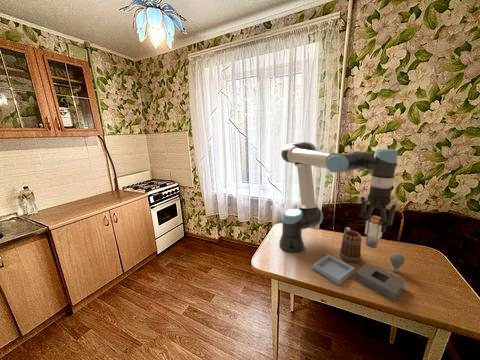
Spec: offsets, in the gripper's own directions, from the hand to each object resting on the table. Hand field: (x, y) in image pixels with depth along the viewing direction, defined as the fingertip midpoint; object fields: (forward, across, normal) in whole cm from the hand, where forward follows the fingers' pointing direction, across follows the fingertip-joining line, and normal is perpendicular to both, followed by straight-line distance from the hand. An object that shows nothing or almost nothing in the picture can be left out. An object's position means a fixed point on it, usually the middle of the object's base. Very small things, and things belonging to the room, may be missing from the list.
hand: (372, 235), depth 89 cm
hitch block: (+24, +5, +2) cm, 24 cm away
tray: (+24, -13, -7) cm, 28 cm away
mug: (+25, -15, +13) cm, 31 cm away
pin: (+5, 0, 0) cm, 5 cm away
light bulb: (+24, +6, +18) cm, 30 cm away
